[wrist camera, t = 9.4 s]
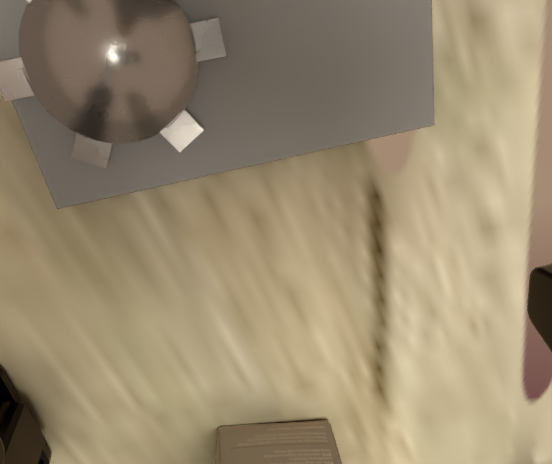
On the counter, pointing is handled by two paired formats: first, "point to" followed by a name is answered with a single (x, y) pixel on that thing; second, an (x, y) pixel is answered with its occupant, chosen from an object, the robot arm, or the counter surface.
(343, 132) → the board
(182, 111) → the gears
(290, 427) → the skincare box
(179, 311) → the counter surface
